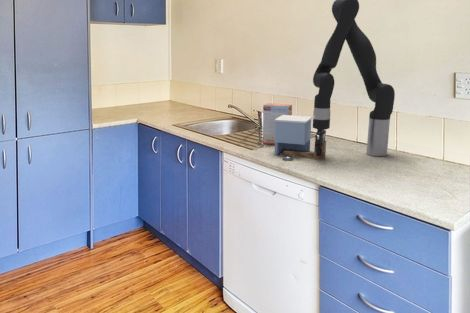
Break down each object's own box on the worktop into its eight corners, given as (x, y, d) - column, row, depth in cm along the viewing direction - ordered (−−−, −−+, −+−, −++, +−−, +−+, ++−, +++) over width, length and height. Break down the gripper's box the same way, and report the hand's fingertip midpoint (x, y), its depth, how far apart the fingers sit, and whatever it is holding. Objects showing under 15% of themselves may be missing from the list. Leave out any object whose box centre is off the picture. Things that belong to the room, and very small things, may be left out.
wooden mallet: (325, 157, 199) (326, 140, 197) (323, 160, 195) (324, 142, 193) (284, 153, 205) (285, 137, 203) (282, 156, 201) (282, 139, 199)
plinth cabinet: (310, 150, 212) (312, 116, 208) (304, 157, 198) (306, 121, 194) (281, 148, 217) (282, 114, 213) (273, 154, 204) (274, 119, 199)
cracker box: (291, 144, 224) (292, 104, 219) (286, 146, 219) (288, 105, 214) (267, 141, 231) (268, 102, 226) (262, 143, 226) (262, 104, 221)
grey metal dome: (294, 159, 197) (294, 155, 196) (291, 161, 192) (291, 158, 192) (283, 158, 199) (284, 154, 198) (280, 160, 194) (280, 157, 194)
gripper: (327, 120, 185) (325, 159, 189) (332, 115, 198) (330, 151, 202) (310, 119, 188) (308, 157, 192) (316, 114, 200) (314, 150, 205)
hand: (319, 154), depth 197 cm, fingers open, 4 cm apart
